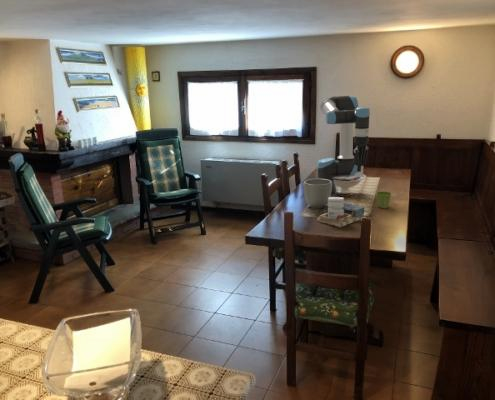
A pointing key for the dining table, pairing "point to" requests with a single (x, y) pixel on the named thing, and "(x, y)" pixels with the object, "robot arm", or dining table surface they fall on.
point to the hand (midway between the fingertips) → (360, 176)
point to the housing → (354, 209)
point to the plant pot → (383, 199)
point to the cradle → (347, 219)
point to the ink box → (336, 207)
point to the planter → (317, 192)
